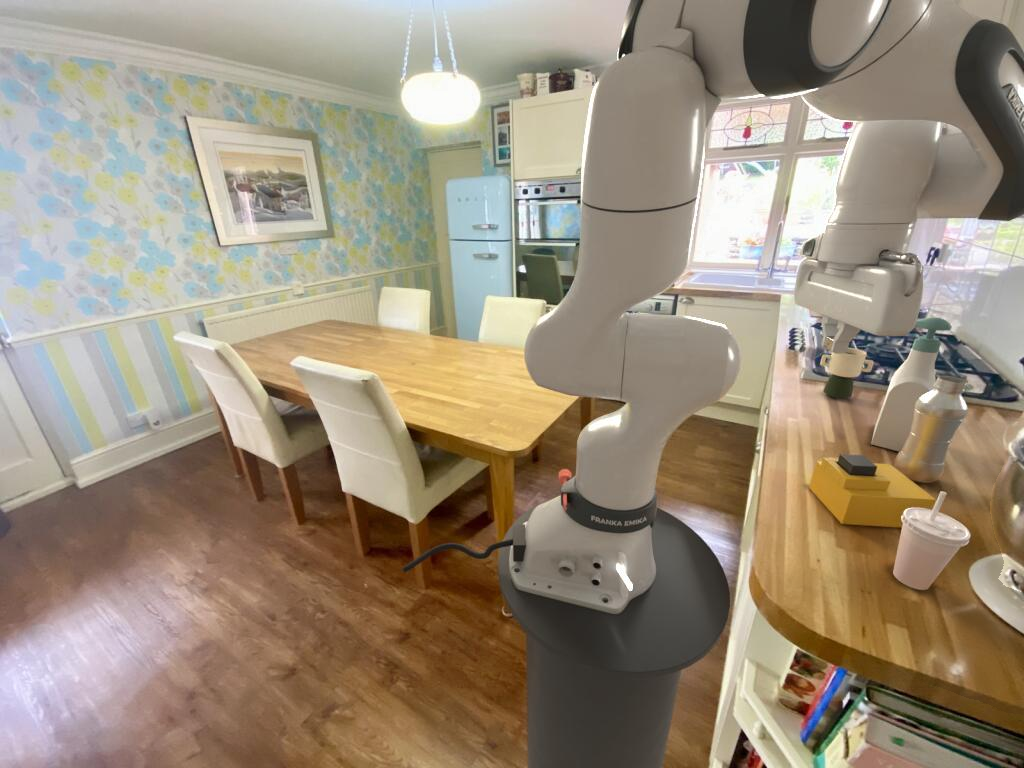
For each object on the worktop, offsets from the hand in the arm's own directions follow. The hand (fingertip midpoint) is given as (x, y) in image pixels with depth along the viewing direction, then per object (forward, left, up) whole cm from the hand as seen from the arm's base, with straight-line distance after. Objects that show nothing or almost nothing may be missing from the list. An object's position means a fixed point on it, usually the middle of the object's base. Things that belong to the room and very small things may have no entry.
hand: (833, 350), depth 59 cm
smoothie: (+11, -12, -29) cm, 33 cm away
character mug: (+37, +53, -29) cm, 71 cm away
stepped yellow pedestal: (+14, +4, -29) cm, 32 cm away
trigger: (+11, +4, -22) cm, 25 cm away
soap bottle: (+34, +29, -29) cm, 53 cm away
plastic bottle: (+29, +14, -29) cm, 43 cm away
